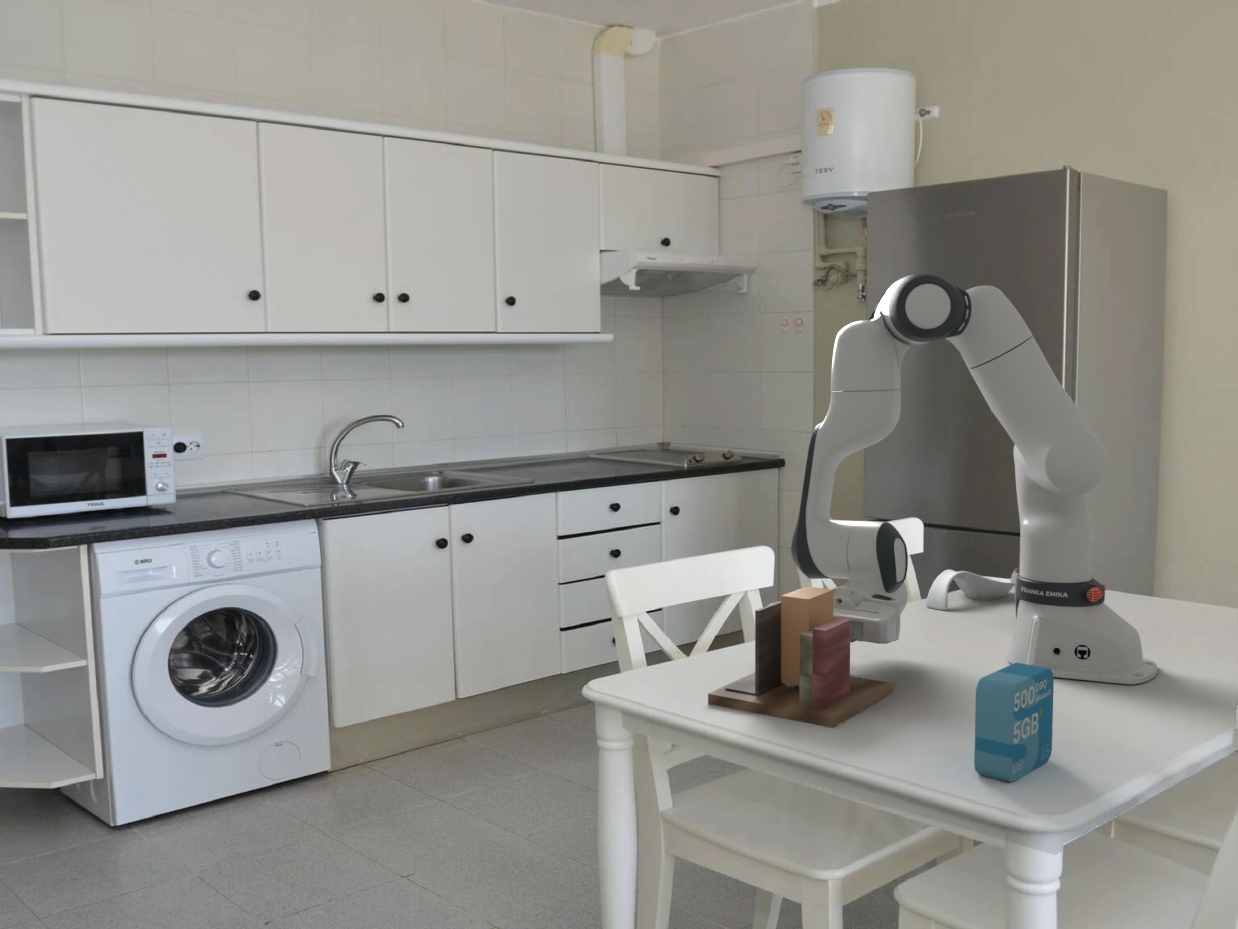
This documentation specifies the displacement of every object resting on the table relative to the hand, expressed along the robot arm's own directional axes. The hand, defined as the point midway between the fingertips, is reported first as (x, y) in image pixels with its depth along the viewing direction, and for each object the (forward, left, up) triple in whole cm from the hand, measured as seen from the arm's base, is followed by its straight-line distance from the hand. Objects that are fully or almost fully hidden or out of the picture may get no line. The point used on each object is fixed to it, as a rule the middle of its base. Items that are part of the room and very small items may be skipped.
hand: (808, 630), depth 178 cm
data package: (-35, +14, -10) cm, 39 cm away
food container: (-13, -64, -10) cm, 66 cm away
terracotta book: (0, 0, -7) cm, 7 cm away
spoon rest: (+3, -77, -10) cm, 78 cm away
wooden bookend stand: (0, +2, -10) cm, 10 cm away
